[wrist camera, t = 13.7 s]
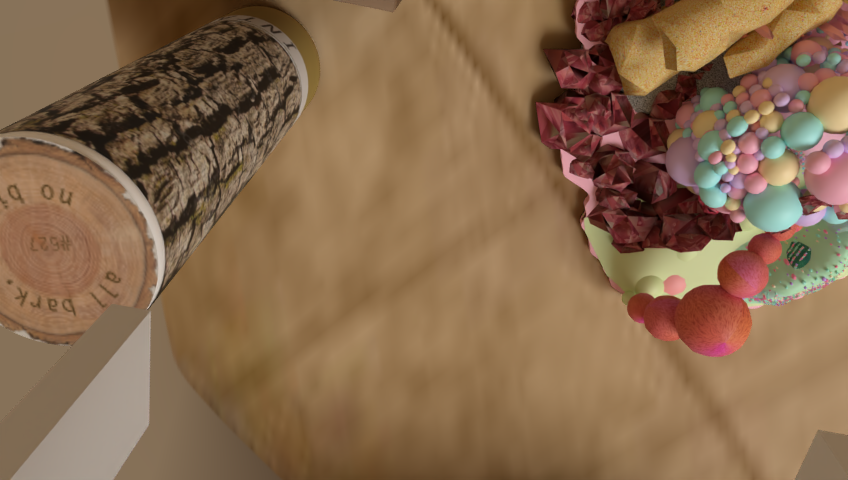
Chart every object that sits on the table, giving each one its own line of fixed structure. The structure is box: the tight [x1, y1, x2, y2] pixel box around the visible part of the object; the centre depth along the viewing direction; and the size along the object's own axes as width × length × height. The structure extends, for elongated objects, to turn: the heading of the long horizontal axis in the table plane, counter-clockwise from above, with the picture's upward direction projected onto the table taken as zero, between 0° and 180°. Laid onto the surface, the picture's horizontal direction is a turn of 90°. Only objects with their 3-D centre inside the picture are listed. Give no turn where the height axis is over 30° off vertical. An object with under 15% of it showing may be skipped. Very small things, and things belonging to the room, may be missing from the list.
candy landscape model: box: [536, 0, 848, 357], centre depth 40 cm, size 25×24×9 cm
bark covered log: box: [0, 6, 320, 346], centre depth 33 cm, size 7×7×25 cm
